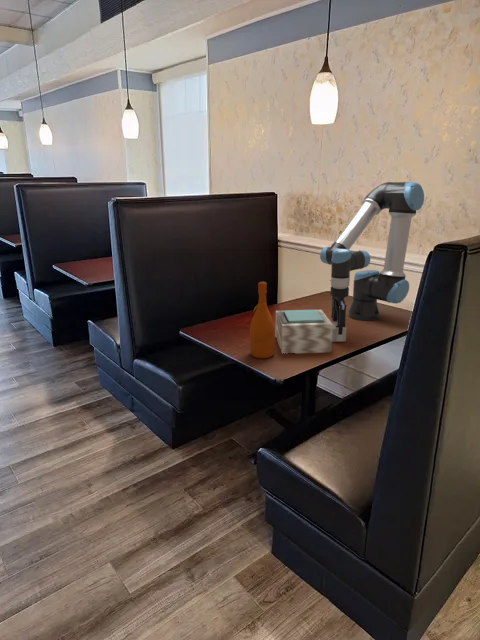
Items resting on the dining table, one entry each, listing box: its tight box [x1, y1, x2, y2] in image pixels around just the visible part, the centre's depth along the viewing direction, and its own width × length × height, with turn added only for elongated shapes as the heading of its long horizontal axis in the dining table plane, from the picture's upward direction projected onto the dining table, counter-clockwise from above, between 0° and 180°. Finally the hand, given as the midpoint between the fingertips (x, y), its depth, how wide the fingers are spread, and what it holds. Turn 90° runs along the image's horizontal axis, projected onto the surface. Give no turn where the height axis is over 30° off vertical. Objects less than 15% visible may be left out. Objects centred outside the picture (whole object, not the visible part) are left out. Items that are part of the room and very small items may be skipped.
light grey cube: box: [332, 323, 347, 343], centre depth 188 cm, size 6×6×6 cm
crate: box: [275, 308, 333, 355], centre depth 182 cm, size 20×20×12 cm
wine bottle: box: [249, 281, 276, 359], centre depth 169 cm, size 10×10×30 cm
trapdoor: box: [283, 309, 324, 323], centre depth 180 cm, size 14×14×1 cm
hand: (337, 338), depth 188 cm, fingers closed on light grey cube, 6 cm apart
